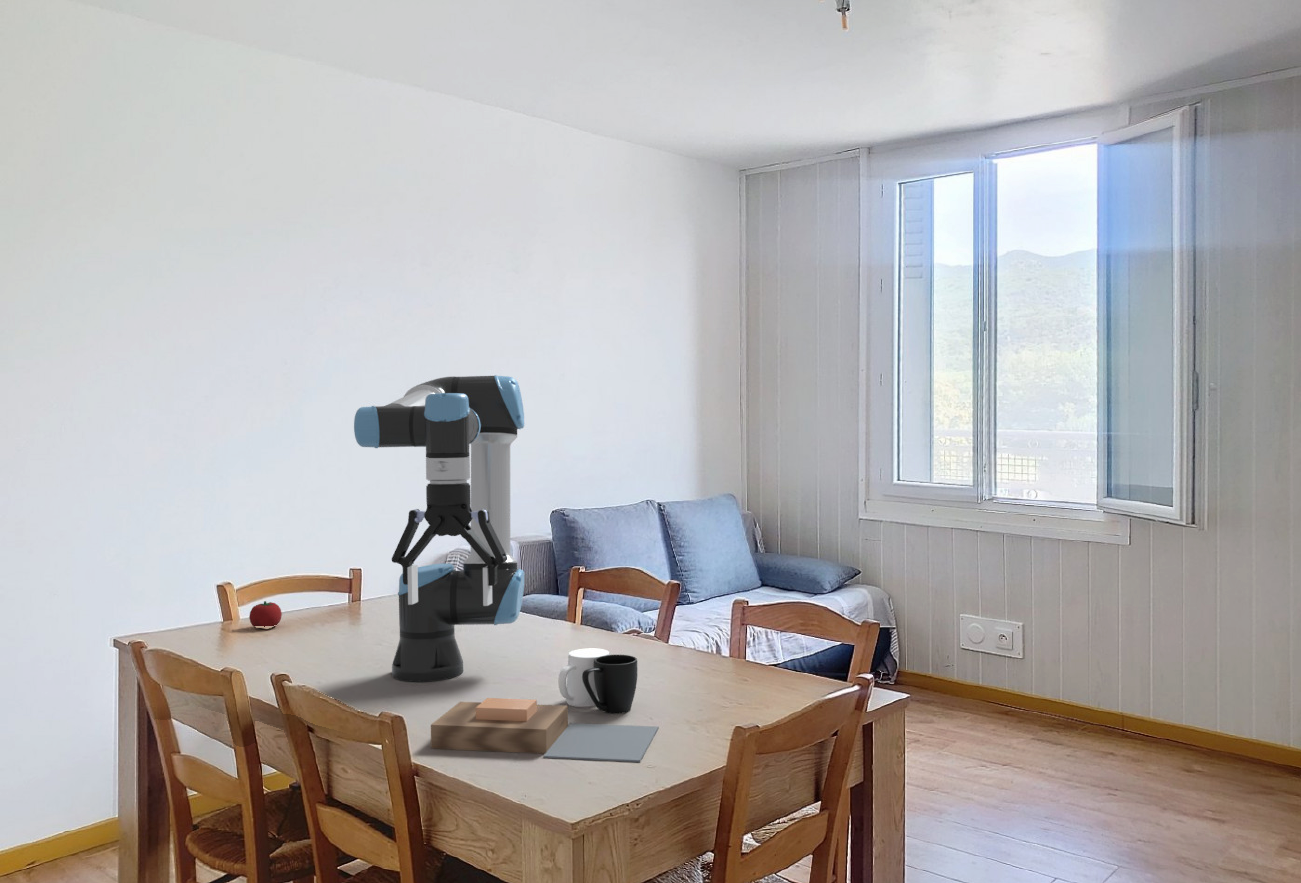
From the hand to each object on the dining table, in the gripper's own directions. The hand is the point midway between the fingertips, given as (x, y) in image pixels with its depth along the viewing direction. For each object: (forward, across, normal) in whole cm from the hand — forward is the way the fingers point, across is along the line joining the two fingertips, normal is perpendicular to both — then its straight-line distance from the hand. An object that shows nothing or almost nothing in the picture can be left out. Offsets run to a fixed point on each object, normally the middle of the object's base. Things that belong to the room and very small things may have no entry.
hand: (450, 604), depth 180 cm
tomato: (+23, -82, +83) cm, 119 cm away
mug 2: (+23, +24, +17) cm, 38 cm away
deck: (+23, +9, 0) cm, 25 cm away
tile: (+19, +10, -1) cm, 21 cm away
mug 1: (+23, +18, +23) cm, 38 cm away
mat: (+23, +27, -1) cm, 35 cm away
